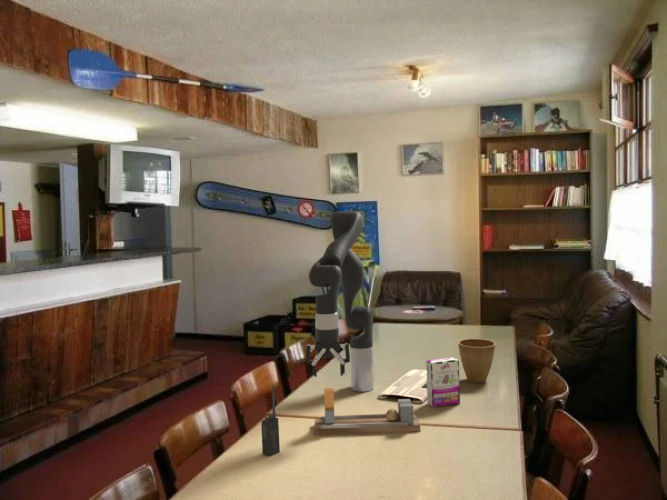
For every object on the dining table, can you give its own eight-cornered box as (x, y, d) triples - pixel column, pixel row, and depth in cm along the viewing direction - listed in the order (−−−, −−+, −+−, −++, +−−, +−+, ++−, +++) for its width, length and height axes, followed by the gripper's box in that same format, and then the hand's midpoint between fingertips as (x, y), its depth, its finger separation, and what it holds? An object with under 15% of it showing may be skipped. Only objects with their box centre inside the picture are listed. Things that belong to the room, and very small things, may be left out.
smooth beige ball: (385, 419, 191) (385, 407, 191) (397, 418, 191) (397, 406, 191) (386, 423, 187) (386, 411, 187) (399, 422, 187) (398, 410, 187)
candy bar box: (454, 400, 215) (453, 356, 214) (460, 404, 210) (459, 359, 209) (426, 403, 212) (425, 359, 211) (432, 407, 207) (431, 362, 206)
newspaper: (422, 405, 212) (422, 397, 211) (373, 399, 220) (373, 392, 220) (448, 378, 245) (448, 372, 244) (405, 374, 253) (405, 368, 253)
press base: (314, 425, 193) (314, 401, 193) (415, 421, 194) (415, 397, 194) (314, 435, 184) (313, 410, 184) (420, 431, 185) (419, 406, 185)
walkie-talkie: (272, 449, 174) (270, 384, 173) (280, 451, 172) (278, 385, 171) (261, 454, 171) (258, 388, 170) (269, 457, 169) (266, 389, 167)
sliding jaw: (325, 419, 192) (324, 386, 191) (334, 418, 192) (333, 386, 191) (325, 426, 185) (324, 392, 185) (334, 426, 186) (333, 392, 185)
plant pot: (454, 383, 235) (453, 344, 234) (464, 374, 248) (463, 337, 247) (491, 387, 228) (490, 347, 227) (499, 377, 241) (498, 340, 241)
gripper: (348, 323, 191) (349, 372, 192) (305, 325, 191) (306, 373, 191) (349, 327, 183) (350, 378, 184) (304, 329, 183) (306, 379, 184)
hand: (328, 375), depth 188 cm, fingers open, 8 cm apart
